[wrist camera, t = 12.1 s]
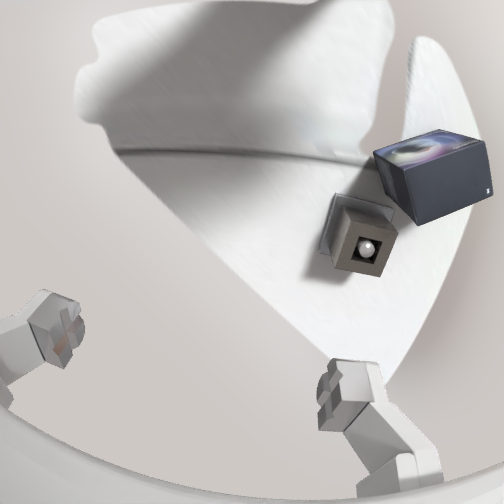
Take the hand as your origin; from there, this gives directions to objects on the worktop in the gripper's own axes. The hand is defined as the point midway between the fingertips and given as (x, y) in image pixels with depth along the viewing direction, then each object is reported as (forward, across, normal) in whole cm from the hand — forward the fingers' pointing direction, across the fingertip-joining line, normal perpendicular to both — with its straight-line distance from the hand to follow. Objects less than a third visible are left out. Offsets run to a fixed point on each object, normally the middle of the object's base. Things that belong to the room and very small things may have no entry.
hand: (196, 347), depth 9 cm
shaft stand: (+29, -14, +6) cm, 33 cm away
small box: (+29, -19, -5) cm, 35 cm away
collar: (+28, -14, +6) cm, 32 cm away
